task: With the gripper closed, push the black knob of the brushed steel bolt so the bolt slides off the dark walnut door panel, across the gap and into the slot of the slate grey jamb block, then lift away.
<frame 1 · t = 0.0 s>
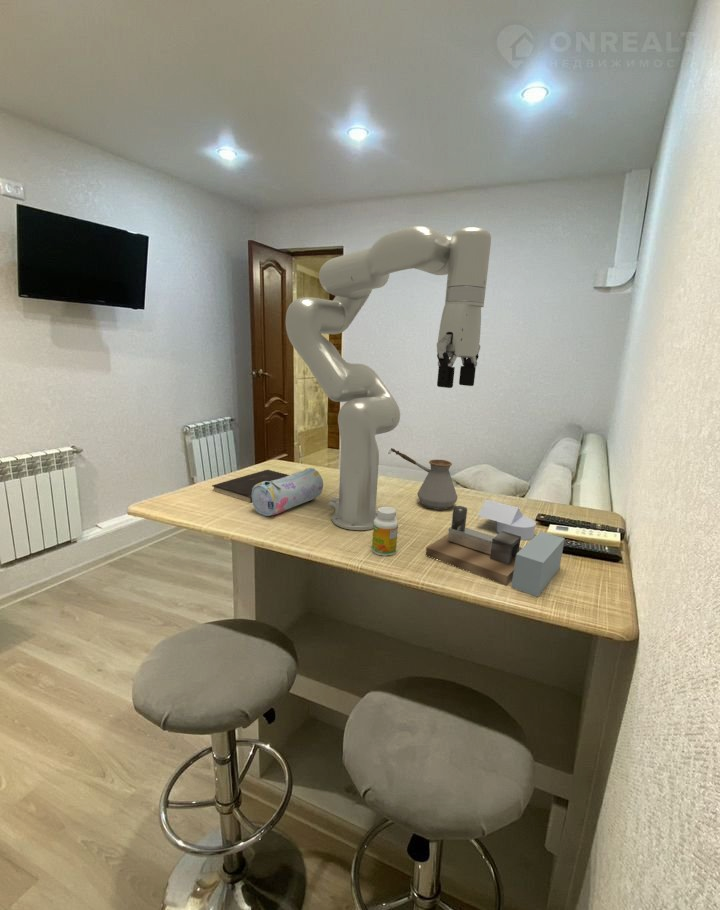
hand: (455, 386, 92), 37 cm above the table, tool pointing down, fingers open, 9 cm apart
door panel: (491, 562, 96), on the table
coffee pot: (419, 502, 131), on the table
jamb: (539, 561, 90), on the table
wedge on round base: (507, 531, 114), on the table
bolt: (477, 530, 97), point 6 cm above the table, slide at 0.0 cm
pencil case: (288, 507, 123), on the table
hardcover book: (260, 489, 137), on the table
supplement bottle: (383, 551, 99), on the table
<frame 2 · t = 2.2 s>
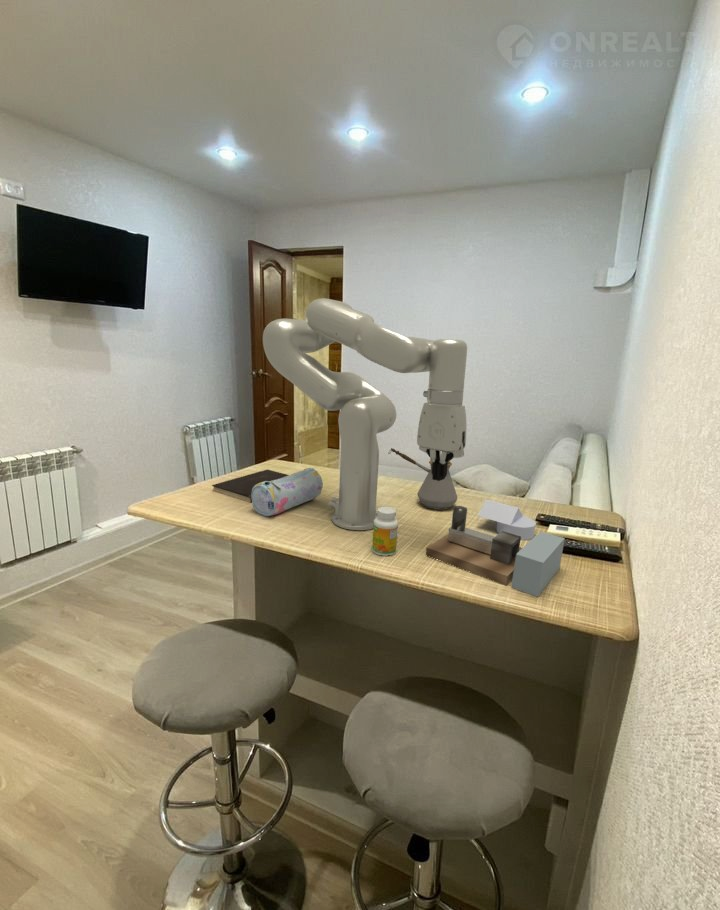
hand: (438, 479, 101), 15 cm above the table, tool pointing down, fingers closed
nothing on the table moved.
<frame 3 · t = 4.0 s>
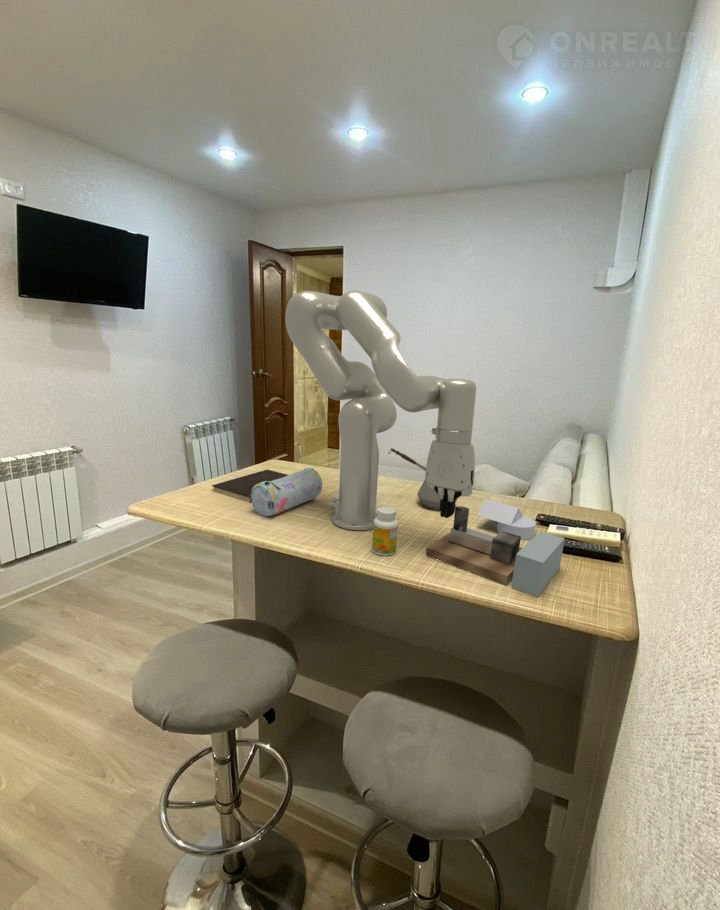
hand: (446, 515, 101), 7 cm above the table, tool pointing down, fingers closed
bolt: (479, 530, 97), point 6 cm above the table, slide at 0.5 cm, touching gripper
everything else where it was.
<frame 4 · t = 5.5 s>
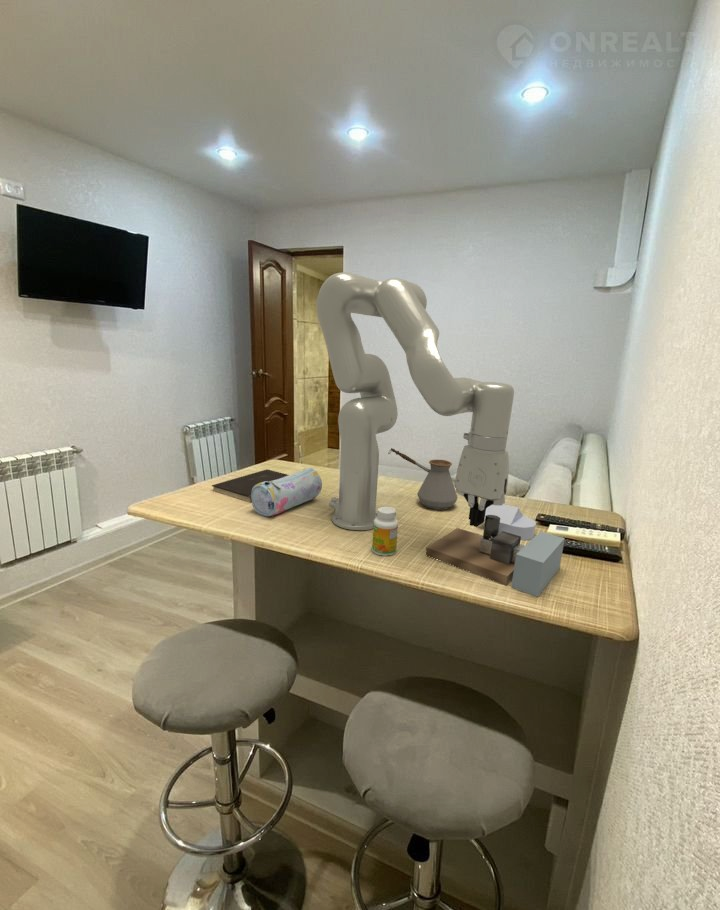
hand: (475, 524, 97), 7 cm above the table, tool pointing down, fingers closed
bolt: (511, 540, 93), point 6 cm above the table, slide at 7.5 cm, touching door panel, gripper
everything else where it was.
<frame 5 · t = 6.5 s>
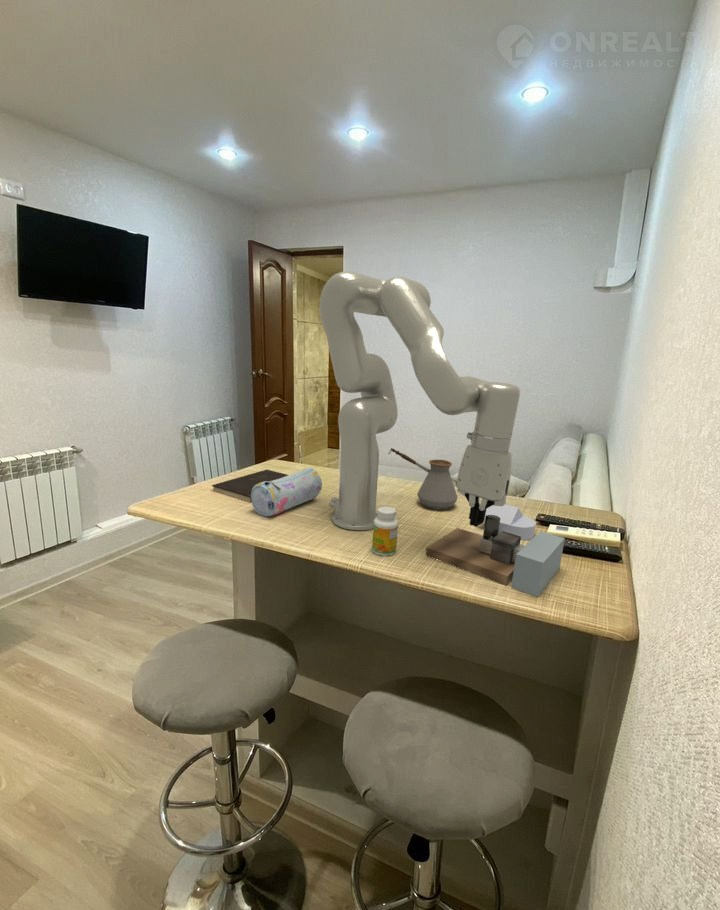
hand: (475, 524, 97), 7 cm above the table, tool pointing down, fingers closed
nothing on the table moved.
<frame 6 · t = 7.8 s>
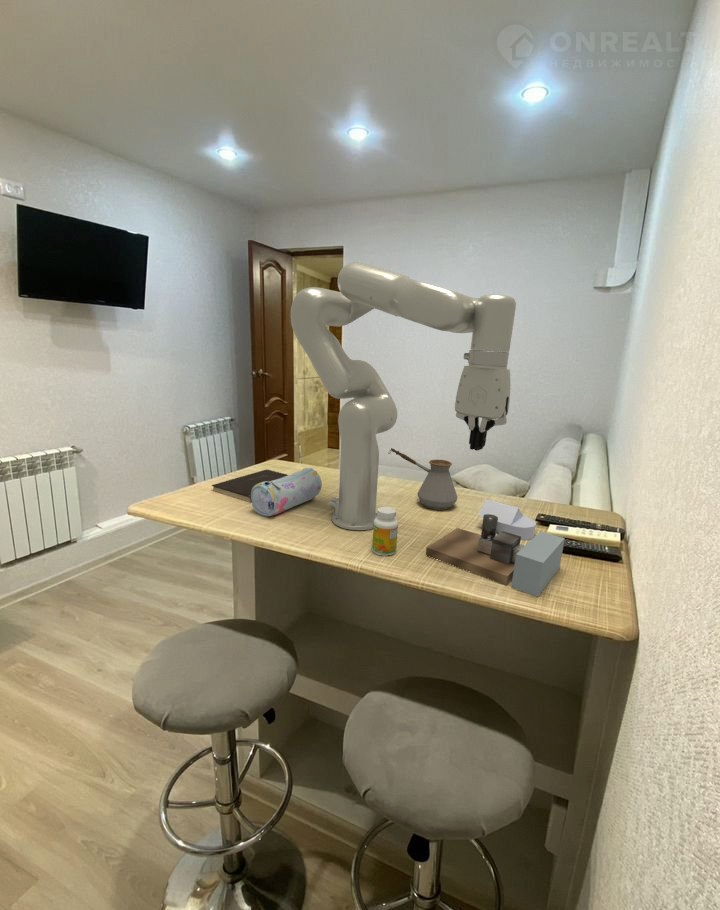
hand: (476, 448, 94), 24 cm above the table, tool pointing down, fingers closed
bolt: (509, 539, 93), point 6 cm above the table, slide at 7.0 cm
everything else where it was.
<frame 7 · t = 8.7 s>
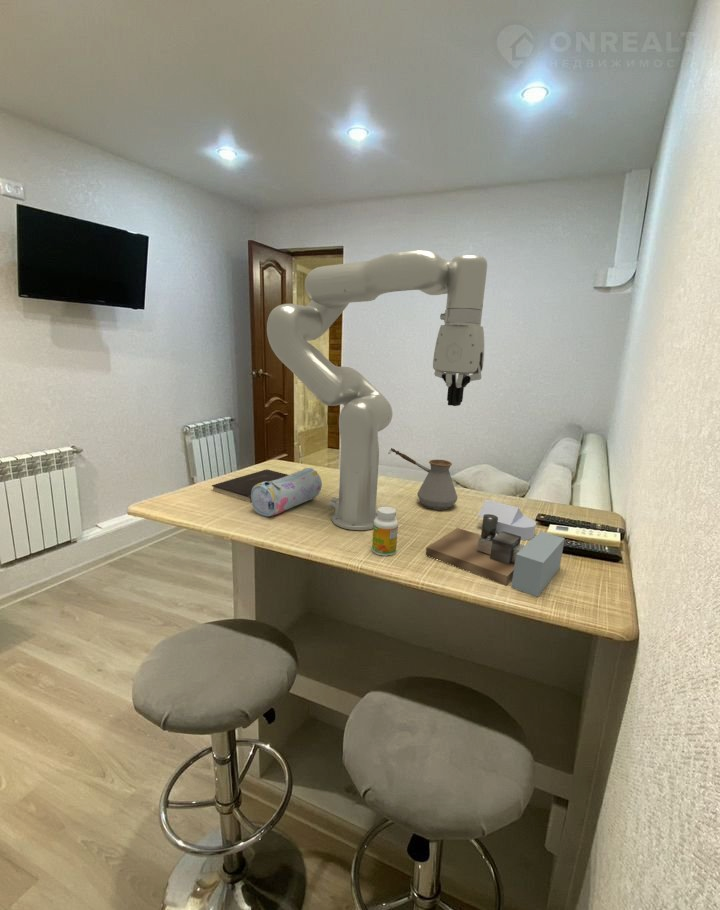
hand: (454, 405, 99), 32 cm above the table, tool pointing down, fingers closed
nothing on the table moved.
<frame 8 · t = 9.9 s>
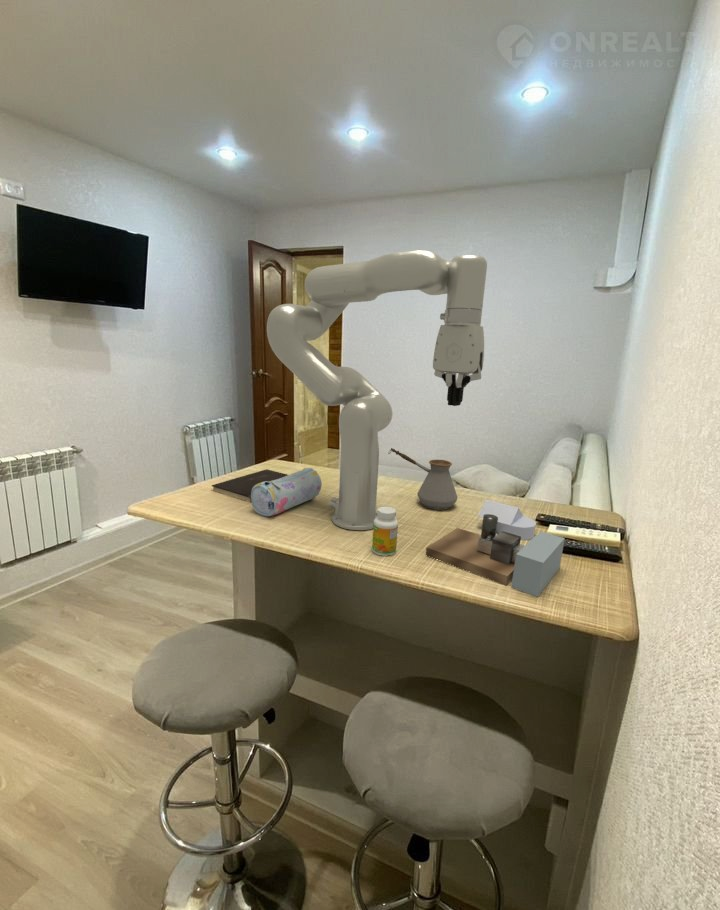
hand: (454, 404, 99), 32 cm above the table, tool pointing down, fingers closed
nothing on the table moved.
at the end: bolt slide at 7.0 cm; supplement bottle moved 0.2 cm from its start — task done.
